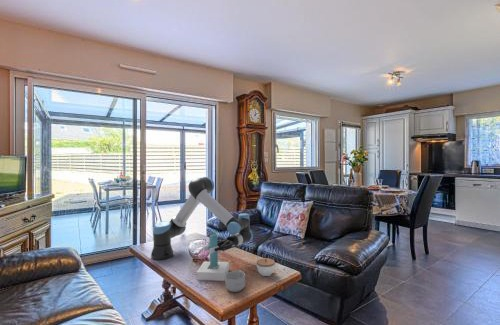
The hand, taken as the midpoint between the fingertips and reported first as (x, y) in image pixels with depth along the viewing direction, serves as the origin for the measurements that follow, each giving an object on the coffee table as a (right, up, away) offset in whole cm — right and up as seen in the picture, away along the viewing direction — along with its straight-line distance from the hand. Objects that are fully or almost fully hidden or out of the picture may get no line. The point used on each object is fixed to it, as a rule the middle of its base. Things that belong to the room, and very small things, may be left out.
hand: (206, 250), depth 158 cm
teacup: (+18, -16, -13) cm, 27 cm away
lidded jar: (+34, -16, +4) cm, 38 cm away
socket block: (+3, -16, +4) cm, 17 cm away
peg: (+4, -10, +4) cm, 12 cm away
